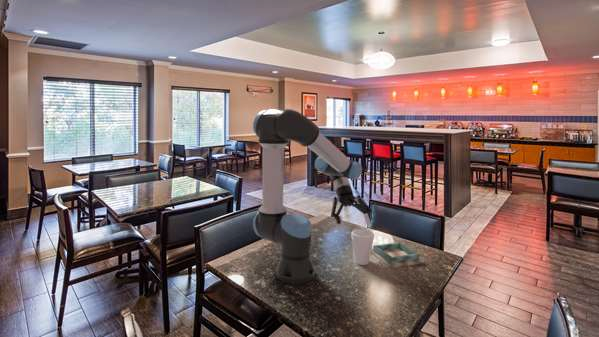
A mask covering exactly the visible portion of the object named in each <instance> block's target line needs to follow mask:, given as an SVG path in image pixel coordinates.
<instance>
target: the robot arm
mask: <svg viewBox="0 0 599 337" xmlns="http://www.w3.org/2000/svg"><path fill="white" fill-rule="evenodd" d="M252 128H253V132H254V133H255V135H256V136H257V137H258V144H259V145H260V147H262V179H261V180H262V185H261V186H262V194H261V196H262V198H261V199H262V201H261V206H260V207H258V211H257V212H256V214H255V216H254V217H253V220H252V228H253V230H254V232H255V234H256V235H257V236H258V237H260V238H262V240H265V241H269V242H271V243H273V244H276V245H278V246H280V259H279V260H278V264H277V267H276V272H275V273H276V275H275V276H276V277H277V279H278V280H279V281H281V282H282V283H286V284H289V285H290V284H291V285H302V284H306V283H308V282H311V281H312V280H313V279H314V278H315V272H316V271H315V267H314V262H313V260H312V255H311V253H312V252H311V250H312V224H311V221H310V220H309V218H308V217H306V216H304V215H301V214H295V213H287V212H288V211H287V210H288V209H287V207H285V205H284V177H285V176H284V171H285V170H284V166H285V165H284V164H285V163H284V162H285V147H287V145H288V144H289V141H291V142H295V143H298V144H299V145H300V146H302V147H307V148H308V149H310V150H311V151H312V152H314V154H316V155H317V156H318V157H317V158H316V159H315V160H314V168H315V169H316V170H317V171H318V172H319V173H322V174H324V175H326V176H328V177H329V178H331V180H332V183H333V186H334V189H335V192H336V196H337V197H336V196H334V197H333V198H332V207H331V212H330V217H331V218H333V219H335V220H336V225H339V228H340V232H342V233H343V232H344V231H345V229H346V227H345V224H344V222H343V218H342V216H341V215H340V214H341V212H342V210H343V208H344V207H347V208H348V207H353V208H355V209H356V210H358V211H359V212H360V213H362V214H363V218H364V221H365V224H366V226H367V229H371V227H372V225H373V224H372V221H371V216H370V214H371V213H372V208H370V206H369V205H368V204H367V203H366V202H365V200H364V199H362V197H361V195H360V194H358V195H356V196H355V195H354V192H353V189H352V187H351V183H350V180H349V179H353V180H354V179H355V180H357V179H359V178H360V177H361V176H362V173H363V166H362V164H361V163H360V162H357V161H352V160H351V159H350V158H348V157H347V156H346V154H344V153H343V152H342V151H341V150H340V149H339V148H338V147H336V146H335V144H334V143H332V142H331V141H330V139H328V138H327V137H326V136H325V135H323V133H321V131H320V128H319V126H318V125H317V124H316V123H314V122H313V121H312V120H311V118H308V117H307V116H306V115H305V114H303V113H301V112H299V111H296V110H293V109H288V108H287V109H286V108H285V109H276V108H275V109H274V108H268V109H263V110H260V111H259V112H258V113H257V115H255V117H254V120H253V124H252ZM338 203H340V205H339V208H338V210H337V206H338Z"/></svg>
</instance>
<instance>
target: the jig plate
mask: <svg viewBox="0 0 599 337" xmlns="http://www.w3.org/2000/svg"><path fill="white" fill-rule="evenodd" d="M372 247H373V248H371V254H372V255H373V256H374V257H375V258H377V259H378V260H379V261H380V262H381V263H382V264H384V265H385V266H386V267H388V268H389V269H395V268H400V267H406V266H414V265H419V264H420V265H421V264H425V260H424V259H422V258H421V257H420V256H421V254H420V253H419V252H416V251H415V250H414V249H412V248H411V247H408V245H405V244H404V243H402V242H401V241H398V242H390V243H384V244H383V243H382V244H375V245H372ZM371 254H370V255H371Z"/></svg>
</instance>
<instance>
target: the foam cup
mask: <svg viewBox="0 0 599 337" xmlns="http://www.w3.org/2000/svg"><path fill="white" fill-rule="evenodd" d="M350 235H351V244H352V251H353V252H352V255H353V262H354V263H355V264H356V265H360V266H363V265H364V266H365V265H368V264H369V263H370V258H371V250H372V249H373V248H372V247H373V243H374V240H375V239H374V238H375V233H374V232H373V231H371V230H367V229H361V228H359V229H353V230H352V231H351V234H350Z"/></svg>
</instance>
